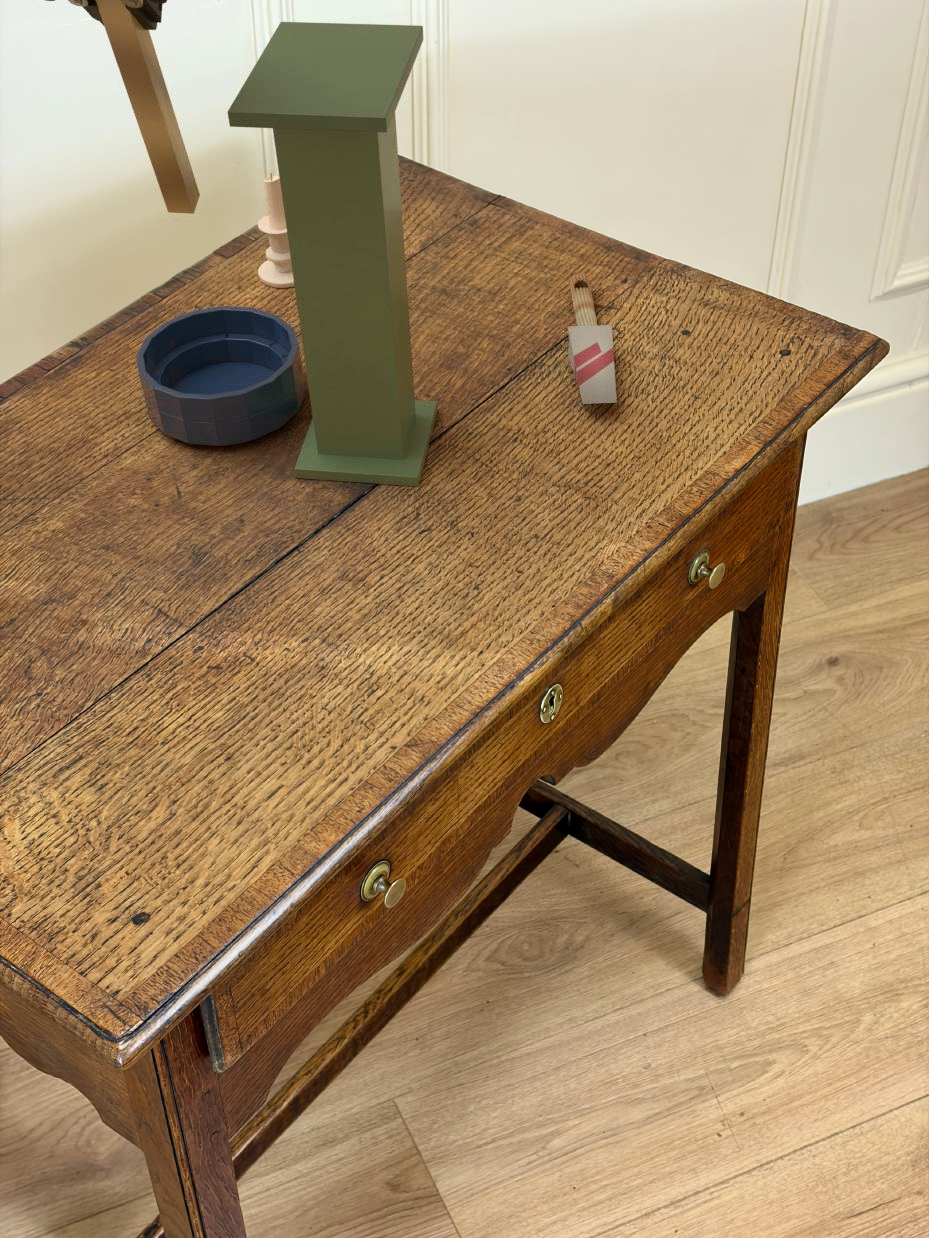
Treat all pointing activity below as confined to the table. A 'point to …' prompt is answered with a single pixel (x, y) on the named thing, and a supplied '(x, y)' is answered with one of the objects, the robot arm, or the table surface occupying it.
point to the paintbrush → (590, 347)
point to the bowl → (221, 375)
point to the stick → (151, 106)
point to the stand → (346, 240)
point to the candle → (275, 239)
